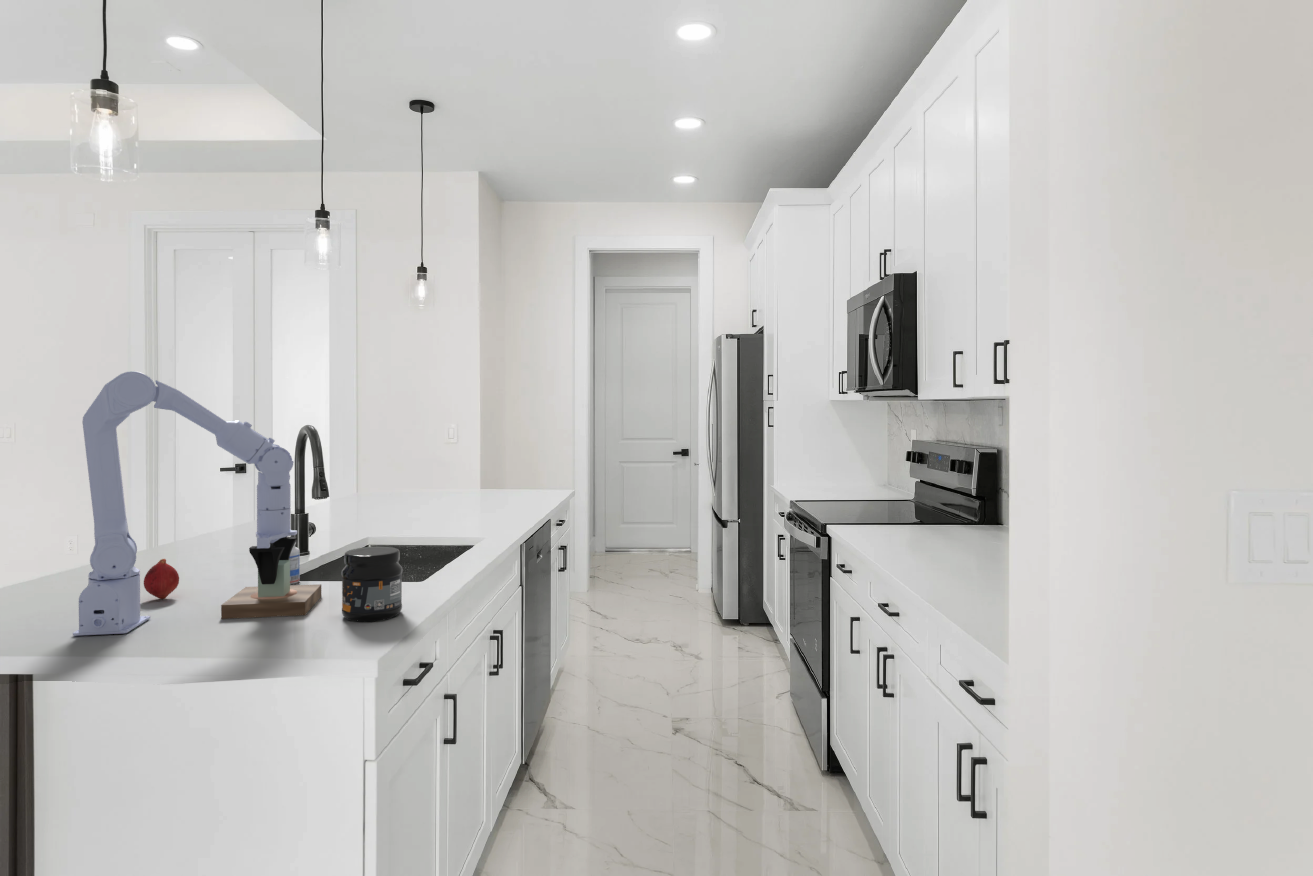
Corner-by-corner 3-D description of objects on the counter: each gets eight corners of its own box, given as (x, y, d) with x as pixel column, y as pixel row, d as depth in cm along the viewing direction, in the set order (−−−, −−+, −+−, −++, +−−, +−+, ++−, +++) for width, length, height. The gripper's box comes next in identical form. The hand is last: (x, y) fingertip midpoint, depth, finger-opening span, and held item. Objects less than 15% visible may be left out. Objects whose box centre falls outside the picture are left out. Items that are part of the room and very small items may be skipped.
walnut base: (305, 615, 138) (305, 601, 138) (221, 618, 135) (221, 604, 135) (321, 596, 152) (321, 584, 151) (245, 599, 148) (245, 586, 148)
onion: (150, 604, 144) (150, 563, 144) (139, 599, 147) (139, 559, 147) (184, 598, 148) (183, 558, 148) (172, 594, 152) (172, 554, 152)
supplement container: (342, 610, 142) (342, 547, 141) (401, 606, 145) (401, 544, 145) (340, 625, 132) (340, 558, 131) (403, 620, 136) (403, 554, 135)
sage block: (284, 596, 141) (283, 564, 141) (257, 597, 140) (257, 565, 140) (290, 590, 146) (289, 560, 146) (264, 591, 145) (264, 560, 145)
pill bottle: (272, 581, 164) (272, 537, 164) (299, 579, 167) (299, 535, 166) (271, 586, 159) (271, 541, 159) (299, 584, 162) (299, 539, 161)
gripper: (286, 513, 136) (286, 587, 137) (305, 503, 150) (305, 570, 151) (244, 514, 135) (244, 588, 135) (267, 504, 149) (267, 571, 149)
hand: (274, 579), depth 143 cm, fingers open, 7 cm apart
